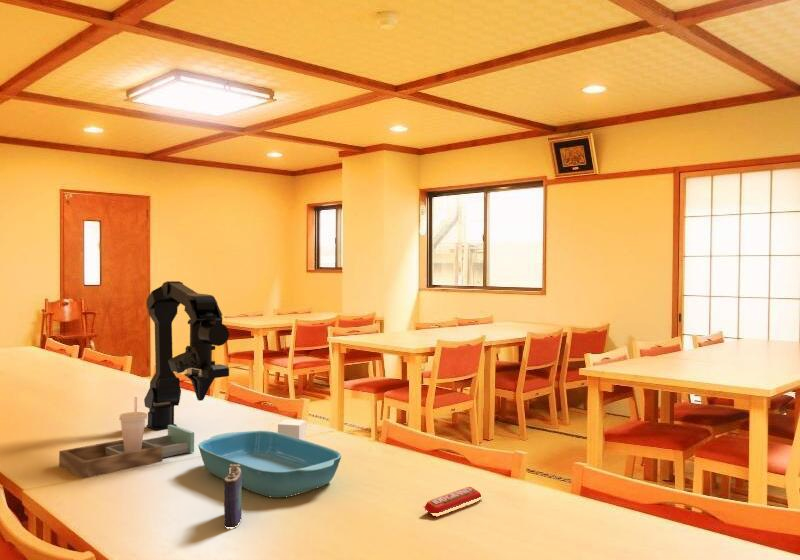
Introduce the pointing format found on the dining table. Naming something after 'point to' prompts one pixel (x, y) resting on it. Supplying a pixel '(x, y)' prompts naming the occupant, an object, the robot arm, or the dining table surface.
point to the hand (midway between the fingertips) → (200, 400)
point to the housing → (105, 459)
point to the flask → (232, 496)
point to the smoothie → (133, 429)
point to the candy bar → (452, 500)
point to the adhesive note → (293, 428)
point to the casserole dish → (270, 461)
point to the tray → (163, 443)
